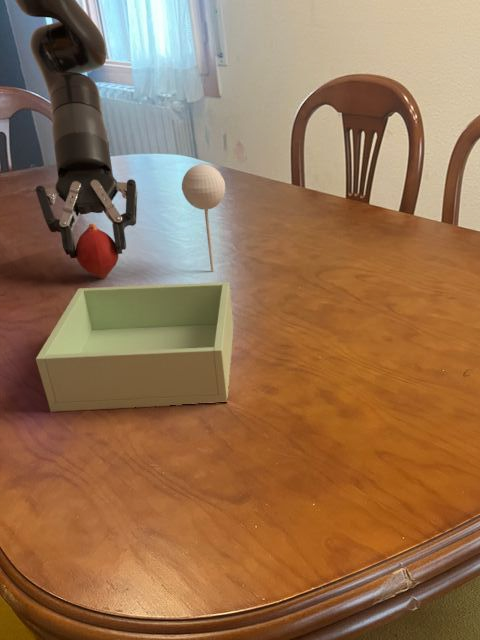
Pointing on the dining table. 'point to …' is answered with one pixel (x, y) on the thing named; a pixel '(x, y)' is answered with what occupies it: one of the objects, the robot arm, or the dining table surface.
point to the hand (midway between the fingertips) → (96, 253)
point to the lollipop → (204, 193)
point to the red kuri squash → (96, 252)
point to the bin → (140, 348)
